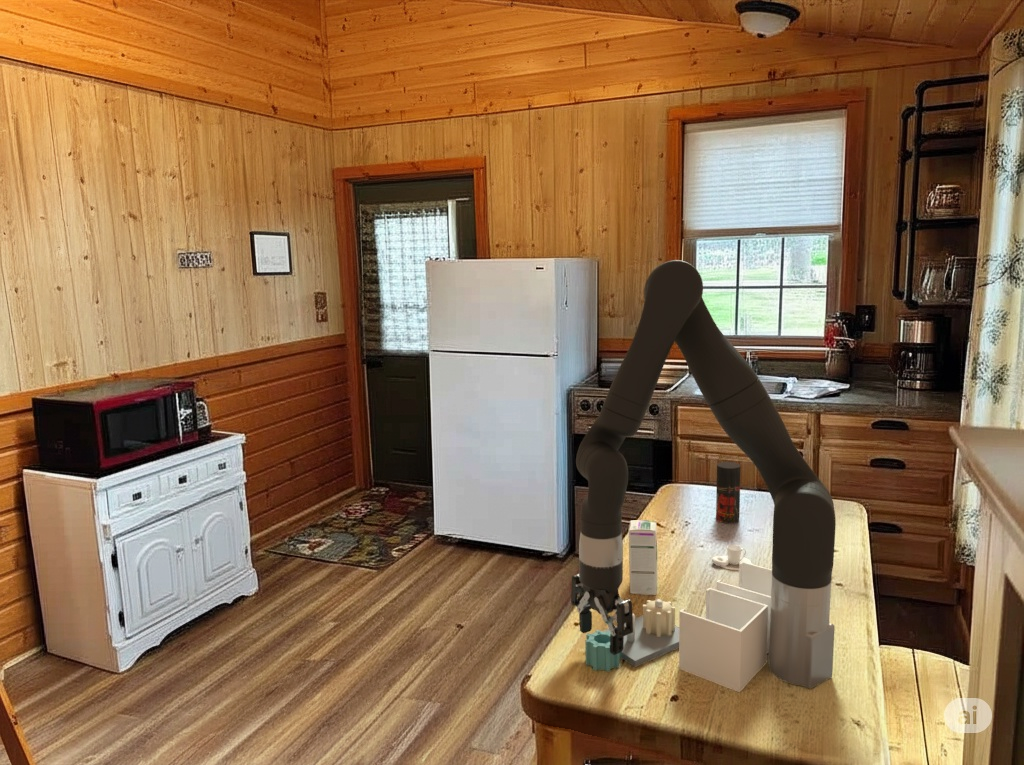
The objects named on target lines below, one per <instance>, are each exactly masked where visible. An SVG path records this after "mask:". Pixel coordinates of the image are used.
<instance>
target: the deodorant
mask: <svg viewBox="0 0 1024 765" xmlns="http://www.w3.org/2000/svg"><path fill="white" fill-rule="evenodd" d="M741 467H742V466H741V464H740V463H738V462H733V461H721V462H718V463H717V464H716V496H715V497H716V498H715V499H716V500H715V501H716V502H715V507H716V508H715V520H716V521H717V522H719V523H722V524H729V525H732V524H738V523H739V522H740V510H741V509H740V508H741V506H740V504H741V499H740V498H741V469H742V468H741Z"/></svg>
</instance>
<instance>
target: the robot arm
mask: <svg viewBox="0 0 1024 765" xmlns="http://www.w3.org/2000/svg"><path fill="white" fill-rule="evenodd" d="M703 292H704V282H703V279H702V276H701V274H700V272H699V270H698V269H697V268H696V267H695V266H693V264H691V263H689V262H687V261H684V260H679V259H673V260H668V261H665V262H663V263H660V264H659V265H657V266H656V267H655V268H654V269H653V270H652V271H651V272H650V274H649V276H647V279H646V280H645V283H644V288H643V297H644V303H643V307H642V312H641V315H640V320H639V323H638V325H637V328H636V331H635V334H634V336H633V339H632V341H631V343H630V346H629V348H628V350H627V352H626V354H625V356H624V358H623V360H622V362H621V364H620V366H619V368H618V370H617V372H616V373H615V377H614V378H613V380H612V383H611V385H610V388H609V390H608V392H607V395H606V397H605V399H604V401H603V404H602V407H601V410H600V412H599V415H598V417H597V418H596V419H595V420H594V422H593V423H592V424H591V426H590V428H588V430H587V433H586V434H585V435H584V437H583V438H582V441H581V442H580V444H579V446H578V450H577V453H576V458H575V464H576V465H575V466H576V469H577V471H578V472H579V474H580V475H581V476H582V477H583V478H585V480H587V484H588V485H587V486H588V491H587V497H585V498H584V499H583V501H582V503H581V507H580V535H579V543H578V544H579V545H578V557H579V558H578V561H579V562H578V564H579V565H578V568H579V571H578V573H576V574H574V575H572V576H571V592H570V604H571V605H572V606H573V607H574V606H576V610H577V613H578V614H579V615H578V618H579V620H578V621H579V622H578V625H579V631H580V632H581V633H582V634H586V633H588V632H589V633H590V632H591V631H592V628H593V624H592V622H593V611H596V612H597V613H598V614H599V615H600V616H601V618H602V621H603V622H604V623H605V624H606V625H607V627H608V629H609V630H610V632H611V634H610V653H612V654H613V655H616V654H618V653H621V652H622V651H623V648H624V646H623V645H624V636H626V635H628V634H631V633H633V615H632V613H633V602H632V600H631V599H629V598H628V599H622V598H621V596H620V594H619V592H620V591H619V588H620V586H621V585H622V583H623V580H624V578H623V574H624V572H623V570H624V564H623V563H624V558H623V557H624V544H623V543H624V542H623V536H622V534H623V533H622V532H623V531H622V529H623V528H622V526H623V525H622V524H623V522H622V521H623V518H622V517H623V516H622V509H623V505H624V502H625V497H626V492H627V488H628V485H629V483H628V482H629V468H628V462H627V460H626V458H625V457H624V455H623V454H622V453H621V452H620V451H619V449H620V448H621V446H622V444H623V443H624V441H625V440H626V438H629V437H634V436H635V435H636V434H637V433H638V430H639V429H640V426H641V424H642V422H643V420H644V417H645V415H646V413H647V410H648V408H649V406H650V403H651V401H652V398H653V396H654V392H655V389H656V387H657V385H658V381H659V379H660V377H661V373H662V371H663V368H664V366H665V364H666V363H665V362H666V361H667V358H668V355H669V353H670V351H671V349H672V348H673V346H674V343H675V344H676V346H677V347H678V348H679V351H680V352H681V354H682V356H683V358H684V360H685V362H686V364H687V367H688V368H689V371H690V373H691V375H692V377H693V379H694V381H695V384H696V385H697V387H698V389H699V390H700V392H701V395H702V396H703V398H704V400H705V402H706V404H707V406H708V407H709V409H710V410H711V412H712V413H713V415H714V417H715V419H716V421H717V422H718V424H719V425H720V427H721V429H723V431H724V432H725V433H726V435H727V436H728V437H729V439H731V441H732V442H733V443H735V445H736V446H737V447H738V448H739V449H740V450H741V452H743V453H744V454H745V455H746V456H747V457H748V458H749V460H750V461H751V462H752V463H753V465H754V466H755V467H756V470H758V473H759V475H760V476H761V477H762V480H763V481H764V484H765V486H766V488H767V490H768V492H769V494H770V497H771V498H772V501H773V504H774V506H773V515H772V516H773V519H772V553H771V569H772V588H771V615H770V644H769V645H770V646H769V654H768V669H769V670H770V672H771V673H772V675H773V676H775V677H776V678H778V679H779V680H780V681H782V682H786V683H789V684H791V685H795V686H803V687H805V688H807V689H809V690H810V689H813V688H815V687H817V686H819V685H820V684H822V683H824V682H825V681H827V680H829V679H831V678H833V670H834V669H833V668H834V666H833V665H834V649H835V648H834V647H835V628H836V627H835V625H834V624H833V623H831V622H830V617H831V616H830V614H831V613H830V612H831V596H832V579H833V577H832V576H833V569H834V557H835V556H834V555H835V542H836V541H835V540H836V526H837V525H836V519H837V518H836V512H835V504H834V500H833V497H832V495H831V492H830V491H829V490H828V488H827V487H826V486H825V485H824V483H823V482H822V481H821V479H820V478H819V477H818V476H817V474H816V473H815V471H814V470H812V468H811V466H810V465H809V464H808V462H807V461H806V460H805V459H804V457H803V455H802V454H801V453H800V452H799V450H798V448H797V447H796V445H795V444H794V442H793V440H792V438H791V435H790V434H789V430H788V429H787V427H786V425H785V423H784V421H783V418H782V417H781V415H780V413H779V411H778V409H777V407H776V406H775V404H774V402H773V400H772V398H771V396H770V394H769V393H768V391H767V389H766V388H765V386H764V385H763V383H762V381H761V380H760V378H759V376H758V375H757V372H755V370H754V369H753V368H752V366H751V365H750V364H749V362H748V360H747V359H745V358H744V356H743V355H742V354H741V353H740V352H739V351H738V349H737V348H736V347H735V346H734V345H733V344H732V343H731V342H730V340H728V338H727V337H726V336H725V335H724V333H723V332H722V331H721V330H720V328H719V327H718V326H717V323H716V322H715V320H714V319H713V316H712V314H711V313H710V311H709V309H708V307H707V304H706V303H705V301H704V299H703ZM578 595H579V596H578ZM592 610H593V611H592ZM613 611H614V614H613V615H611V616H610V615H609V614H611V613H612V612H613ZM614 621H616V625H615V623H614ZM624 623H626V626H625V625H624ZM615 626H617V627H616V628H615Z"/></svg>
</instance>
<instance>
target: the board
mask: <svg viewBox="0 0 1024 765" xmlns="http://www.w3.org/2000/svg"><path fill="white" fill-rule="evenodd" d="M672 605H673V604H672V602H671V601H670V600H669V601H664V600H662V598H661V599H660V598H657V599H655V600H650V599H648V600H646V604H642V615H640V616H637V617H636V616H635V613H633V612H632V615H633V633H631V634H628V635H626V636H624V645H623V646H624V648H623V651H622V652H621V653H620V659H622V660H624V661H625V662H627V663H628V664H629V665H631V666H633V667H634V668H636V667H639V666H641V665H643V664H646V663H648V662H650V661H652V660H654V659H657V658H659V657H662V656H663V655H666V654H668V653H670V652H672V651H674V650H677V649H679V625H677V624H676V607H675V606H672ZM624 625H625V626H626V623H624ZM614 626H615V628H616V627H617V625H614ZM608 631H610V630H609V628H607V629H604V630H602V631H601V632H608Z"/></svg>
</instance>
